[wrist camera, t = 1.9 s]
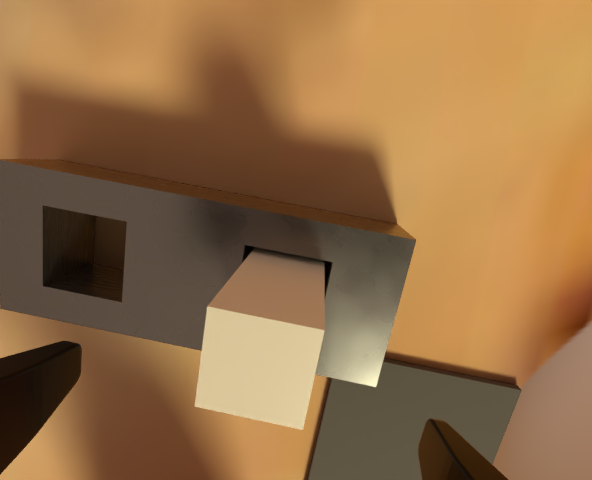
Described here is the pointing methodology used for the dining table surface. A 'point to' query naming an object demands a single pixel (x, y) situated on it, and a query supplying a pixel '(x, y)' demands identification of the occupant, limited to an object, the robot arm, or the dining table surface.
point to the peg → (264, 339)
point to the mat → (405, 420)
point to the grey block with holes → (187, 258)
